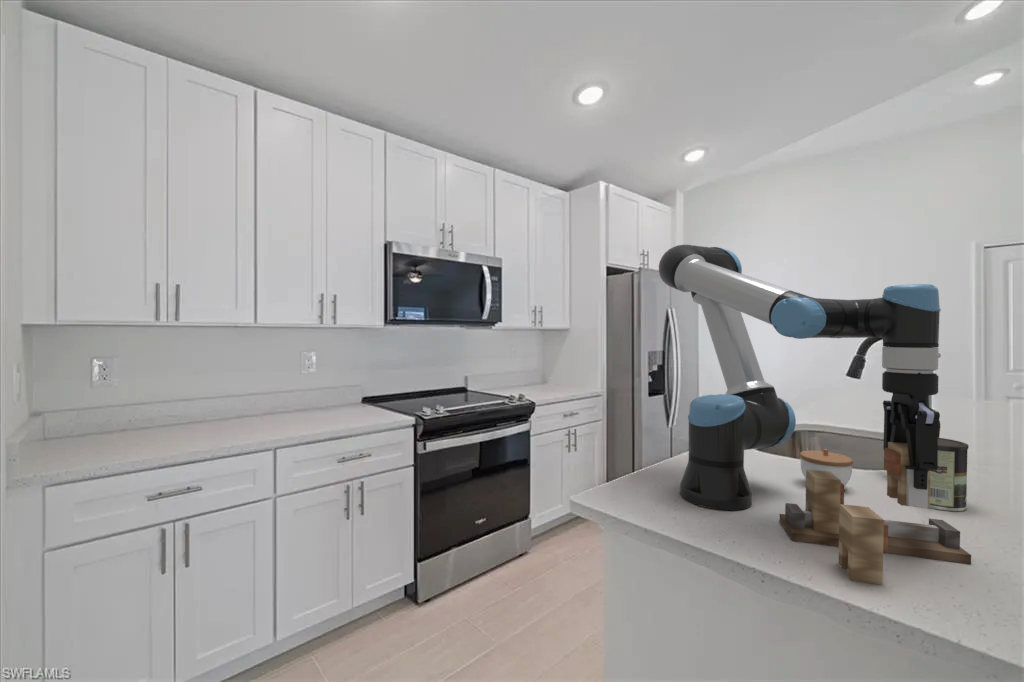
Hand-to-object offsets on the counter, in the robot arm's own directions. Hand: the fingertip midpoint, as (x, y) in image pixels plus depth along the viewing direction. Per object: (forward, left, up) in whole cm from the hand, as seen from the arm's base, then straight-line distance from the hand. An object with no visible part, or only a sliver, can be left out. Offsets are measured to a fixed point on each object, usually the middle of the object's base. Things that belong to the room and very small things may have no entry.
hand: (907, 499), depth 80 cm
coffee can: (+17, +27, -9) cm, 33 cm away
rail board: (-6, 0, -8) cm, 10 cm away
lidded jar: (-3, +31, -9) cm, 32 cm away
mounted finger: (-13, 0, -7) cm, 14 cm away
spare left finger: (-12, -14, -8) cm, 20 cm away
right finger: (0, 0, 0) cm, 0 cm away
